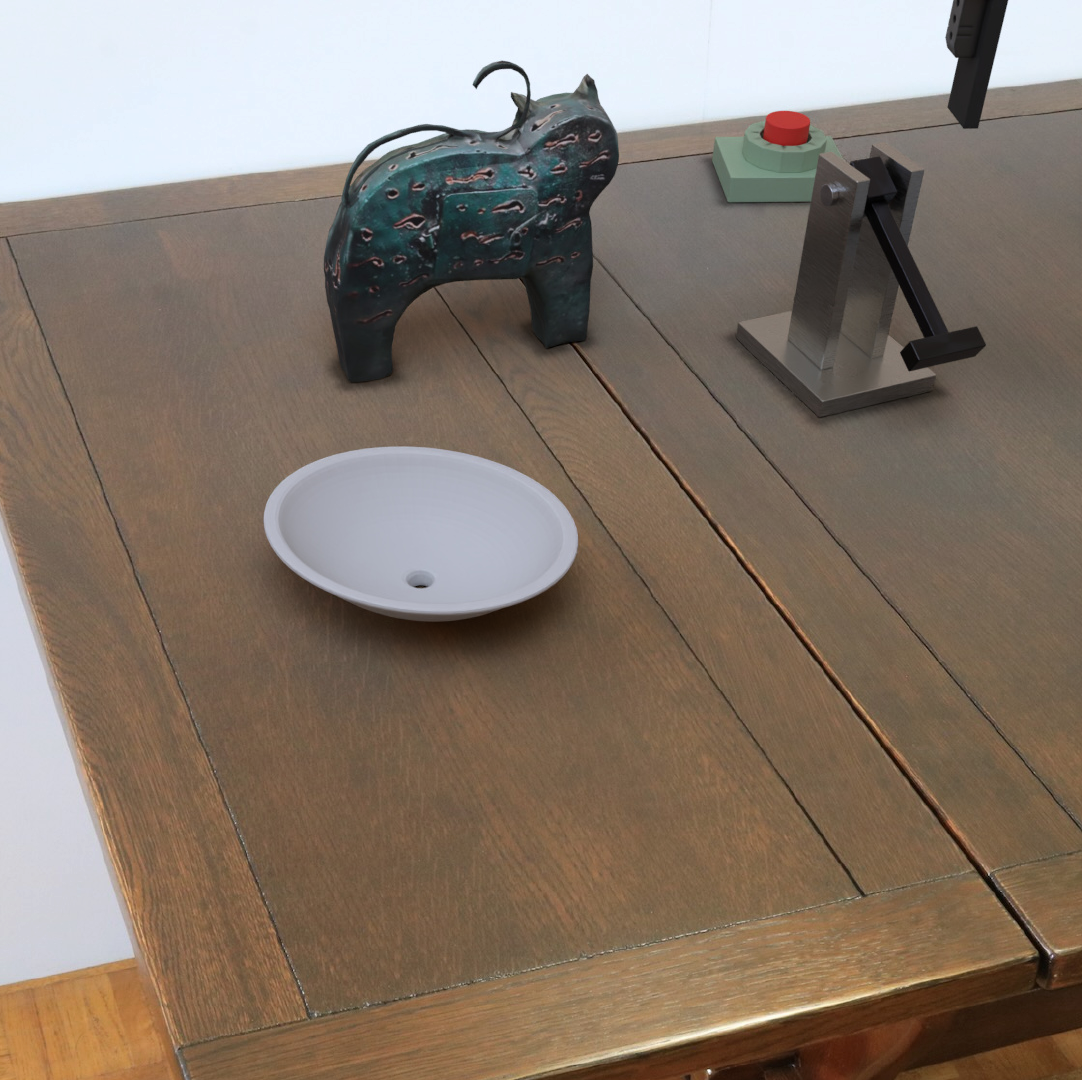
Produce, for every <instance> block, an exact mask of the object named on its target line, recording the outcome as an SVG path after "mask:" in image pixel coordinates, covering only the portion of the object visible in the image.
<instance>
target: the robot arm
mask: <svg viewBox="0 0 1082 1080" xmlns="http://www.w3.org/2000/svg"><path fill="white" fill-rule="evenodd" d="M1008 3H1009V0H952V5H951V8H950V14H949V19H948V23H947V24H948V25H947V28H946V33H945V37H944V38H945V43H946V48H947V49H948V51H949V52H950V53H951V54H952V55H953V56H954V58H955V59H957V62H956V67H955V71H954V75H953V80H952V85H951V89H950V94H949V98H948V101H947V102H948V103H947V109H948V110H949V112H950V113H951V114H952V116H953V117H954V119H955V120H956V121H957V122H958V124H959V125H960V126H961V128H962V129H963V130H968V129H969V130H971V129H972V130H973V129H974V130H975V129H979V126H980V122H981V118H982V114H983V109H984V105H985V101H986V96H987V92H988V88H989V84H990V79H991V77H992V76H991V75H992V72H993V68H994V62H995V59H996V55H997V50H998V47H999V43H1000V38H1001V33H1002V29H1003V25H1004V21H1005V16H1006V12H1007V7H1008Z"/></svg>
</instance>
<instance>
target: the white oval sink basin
mask: <svg viewBox="0 0 1082 1080" xmlns="http://www.w3.org/2000/svg"><path fill="white" fill-rule="evenodd" d="M263 530H264V533H265V535H266V538H267V541H268V542H269V544H270V547H271V549H272V550H273V551H274V553H275V555H276V556H277V557H278V558H279V559H280V560H281V561H282V562H283V564H284V565H285V566H287V567H288V568H289V569H290V570H291V571H292V572H294V573H295V574H296V575H298V576H299V577H300V578H301V579H302V580H305V581H307V582H308V583H310V584H311V585H312V586H315V587H316V588H319V589H321V590H322V591H324V592H327V593H329V594H331V595H334V596H336V597H338V598H339V599H342V600H344V601H346V602H347V603H350V604H351V605H354V606H356V607H359V608H361V609H364V610H366V611H369V612H372V613H376V614H378V615H379V614H380V615H382V616H385V617H391V618H395V619H401V620H407V621H415V622H451V621H461V620H465V619H471V618H476V617H480V616H484V615H487V614H490V613H494V612H496V611H499V610H501V609H504V608H508V607H512V606H514V605H518V604H521V603H524V602H525V601H528V600H530V599H531V600H532V599H533V598H535V597H537V596H539V595H540V594H542V593H544V592H546V591H547V590H549V589H550V588H552V587H554V586H555V585H556V584H558V582H559V581H561V580H562V579H563V577H564V576H565V575H566V574H567V573H568V572H569V570H570V569H571V567H572V565H573V563H574V562H575V559H576V557H577V554H578V549H579V533H578V528H577V525H576V523H575V521H574V518H573V516H572V514H571V512H570V511H569V510H568V508H567V507H566V505H565V503H563V502H562V501H561V500H560V499H559V498H558V496H556V495H555V494H554V493H553V492H552V491H551V490H549V489H548V488H547V487H545V486H544V485H542V484H541V483H540V482H538V481H537V480H535V479H533V478H532V477H530V476H528V475H526V474H525V473H522V472H521V471H519V470H516V469H514V468H512V467H510V466H507V465H505V464H502V463H500V462H497V461H494V460H490V459H487V458H485V457H481V456H477V455H474V454H470V453H464V452H460V451H455V450H449V449H444V448H443V449H442V448H436V447H427V446H426V447H424V446H409V445H408V446H407V445H406V446H403V445H401V446H397V445H394V446H377V447H368V448H366V447H365V448H359V449H353V450H347V451H343V452H340V453H336V454H332V455H329V456H326V457H323V458H320V459H316V460H315V461H313V462H310V463H308V464H306V465H304V466H302V467H300V468H298V469H296V470H295V471H293V472H292V473H290V474H289V475H287V476H286V477H285V478H284V479H283V480H281V481H280V483H279V484H277V486H276V487H275V488H274V489H273V490H272V492H271V494H270V496H269V497H268V500H267V502H266V504H265V507H264V511H263ZM416 586H417V587H416ZM418 586H425V587H418Z"/></svg>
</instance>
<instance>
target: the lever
mask: <svg viewBox="0 0 1082 1080" xmlns="http://www.w3.org/2000/svg"><path fill="white" fill-rule="evenodd" d="M849 164H850V165H851V166H853V167H854V168H855V169H857V170H858V171H860V172H861V173H862V174H864V175H865V176H866V177H868V178H869V179H870V184H869V189H868V194H867V199H866V204H865V209H864V214H863V217H867V218H868V221H869V223H870V225H871V227H872V229H873V231H874V233H875V235H876V237H877V239H878V242H879V244H880V246H881V248H882V250H883V252H884V254H885V256H886V258H887V261H888V263H889V265H890V267H891V269H892V271H893V273H894V275H895V277H896V279H897V282H898V284H899V288H900V290H901V293H902V294H903V296H904V298H905V300H906V303H907V304H908V306H909V309H910V311H911V313H912V315H913V318H914V320H915V322H916V324H917V326H918V328H919V330H920V332H921V334H922V336H923V337H922V338H917V339H912V340H910V341H909V342H908V343H907V344H905V346H903V347H904V348H903V349H902V350H901V352H900V354H901V356H902V359H903V361H904V363H905V365H906V367H907V369H908V371H909V372H910V371H914V370H918V369H923V368H927V367H928V368H931V367H935V366H939V365H944V364H948V363H953V362H957V361H962V360H965V359H966V360H967V359H969V358H970V359H971V358H974V357H976V356H977V355H979V354H980V352H982V350H984V348H985V347H987V343H986V341H985V339H984V337H983V335H982V333H981V331H980V328H979V327H978V325H976V326H971V327H966V328H961V329H957V330H952V331H949V329H948V328H947V325H946V324H945V321H944V320H943V317H942V315H941V313H940V311H939V309H938V306H937V305H936V302H935V301H934V298H933V297H932V293H931V292H930V290H929V288H928V285H927V284H926V281H925V280H924V278H923V275H922V274H921V271H920V270H919V267H918V266H917V263H916V261H915V259H914V257H913V255H912V252H911V251H910V249H909V245H908V246H907V244H906V242H905V240H904V238H903V236H902V234H901V232H900V230H899V228H898V226H897V223H896V221H895V219H894V217H893V215H892V213H891V211H890V209H889V207H888V204H889V202H890V201H891V200H892V199H893V197H894V196H895V195H896V193H897V190H896V188H895V186H894V184H893V182H892V180H891V178H890V175H889V173H888V171H887V169H886V167H885V165H884V163H883V161H882V159H881V157H880V156H878V157H872V158H870V157H868V158H862V159H861V158H860V159H857V160H851V161H850V163H849Z"/></svg>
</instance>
